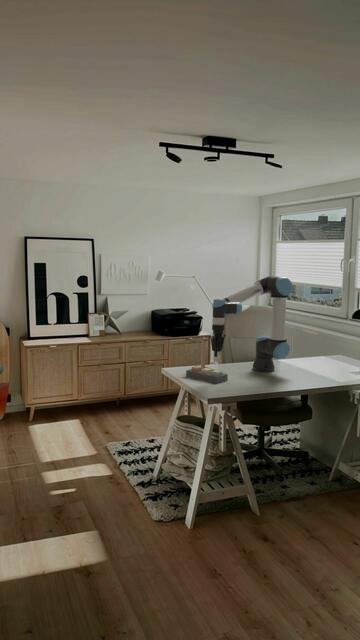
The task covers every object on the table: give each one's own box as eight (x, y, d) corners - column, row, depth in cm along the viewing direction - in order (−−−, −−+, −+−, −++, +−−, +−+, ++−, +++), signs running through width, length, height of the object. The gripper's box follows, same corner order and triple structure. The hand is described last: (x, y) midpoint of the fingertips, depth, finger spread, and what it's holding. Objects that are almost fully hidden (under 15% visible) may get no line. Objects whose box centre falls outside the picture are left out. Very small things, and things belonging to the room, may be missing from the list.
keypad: (186, 376, 339) (186, 370, 339) (197, 373, 347) (197, 367, 347) (216, 383, 323) (217, 377, 322) (227, 380, 331) (227, 374, 330)
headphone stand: (201, 373, 349) (202, 340, 346) (194, 369, 359) (195, 337, 356) (215, 372, 353) (216, 339, 350) (208, 368, 363) (209, 337, 360)
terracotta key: (196, 370, 344) (196, 365, 343) (202, 371, 340) (202, 367, 340) (191, 371, 340) (191, 367, 339) (197, 372, 337) (197, 368, 336)
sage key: (215, 374, 333) (216, 369, 333) (222, 375, 330) (222, 371, 329) (211, 375, 329) (211, 371, 329) (217, 377, 326) (217, 372, 326)
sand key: (206, 372, 338) (206, 367, 338) (212, 373, 335) (212, 369, 335) (201, 373, 335) (201, 369, 334) (207, 375, 331) (207, 370, 331)
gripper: (219, 322, 333) (218, 359, 335) (206, 324, 323) (205, 361, 326) (229, 323, 328) (227, 361, 331) (216, 325, 318) (214, 363, 321)
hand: (216, 361), depth 328 cm, fingers closed
